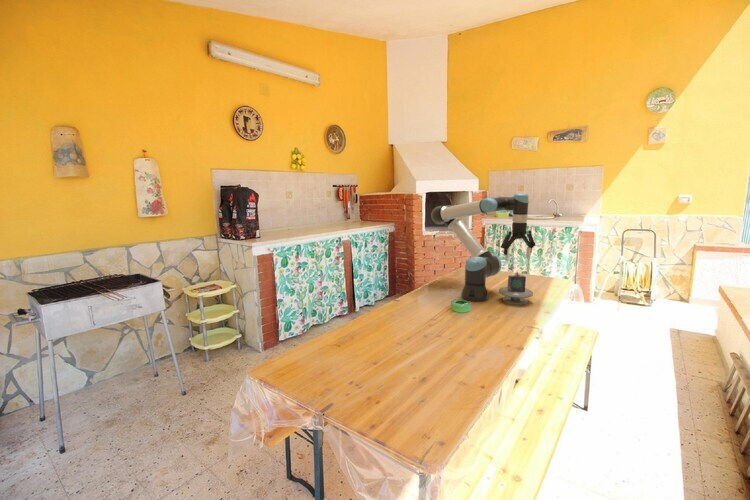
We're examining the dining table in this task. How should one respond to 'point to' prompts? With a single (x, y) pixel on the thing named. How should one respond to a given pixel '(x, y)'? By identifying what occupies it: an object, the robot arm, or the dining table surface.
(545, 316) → the dining table surface
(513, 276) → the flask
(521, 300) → the cake stand
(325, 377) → the dining table surface
